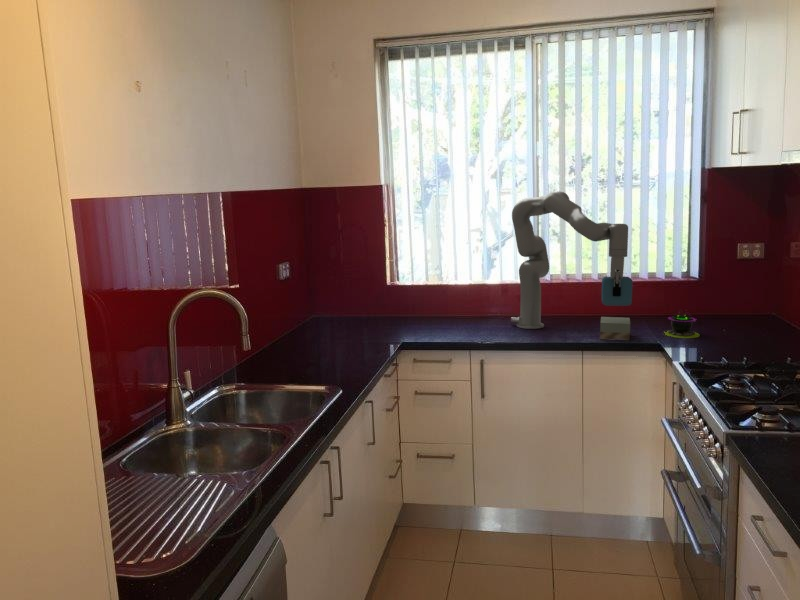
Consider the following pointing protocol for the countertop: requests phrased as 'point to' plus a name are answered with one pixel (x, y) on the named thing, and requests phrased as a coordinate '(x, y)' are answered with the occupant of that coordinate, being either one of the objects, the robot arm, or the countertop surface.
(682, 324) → the toy cauldron
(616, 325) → the pale grey flat block
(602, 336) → the tower bottom
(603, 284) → the data package
